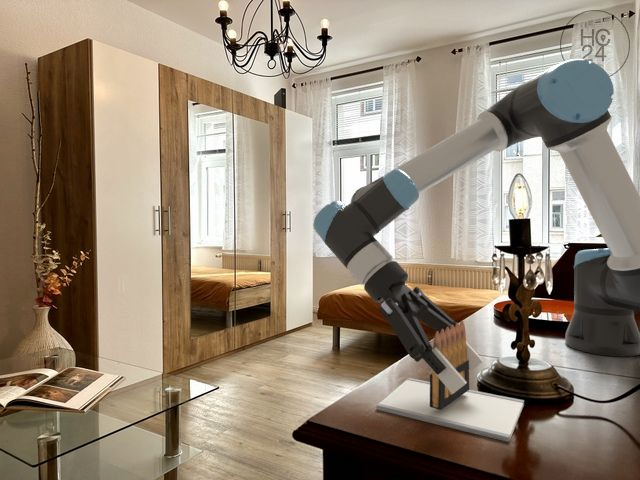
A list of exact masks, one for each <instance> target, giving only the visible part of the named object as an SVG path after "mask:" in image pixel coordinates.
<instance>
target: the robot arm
mask: <svg viewBox="0 0 640 480" xmlns="http://www.w3.org/2000/svg"><path fill="white" fill-rule="evenodd" d="M613 95H614V85H613V81H612V79H611V77H610V75H609V74H608V73H607V71H606V70H605V68H604V67H602V66H601V65H599V64H598V63H595V62H594V61H590V60H587V59H584V58H574V59H569V60H566V61H563V62H561V63H559V64H555V65H553V66H550V67H549V68H548V69H547V70H545V71H543V72H541V73H540V74H538V75H536V76H534V77H532V78H531V79H529V80H527V81H525V82H523V83H521V84H519V85H518V86H516V87H514V89H512V90H511V91H509V92H508V93H507V94H506V95H505V96H504V97H502V98H501V99H500V100H498V101H496V103H494V104H492V106H490V107H488V108H487V109H485V110H483V111H482V112H480V113H479V114H478V115H477V118H476V121H474V122H472V123H470V124H468V125H467V126H466V127H464V128H462V129H460V130H458V131H456V132H455V133H453V134H452V135H449V136H448V137H446V138H445V139H443V140H441V141H440V142H438V143H437V144H434V145H433V146H431V147H430V148H428V149H426V150H424V151H423V152H421V153H420V154H417V155H416V156H415V157H412V158H411V159H409V160H408V161H405V162H404V163H403V164H400V165H399V166H397V167H395V168H394V169H392V170H390V171H389V172H387V173H385V174H384V175H382V176H381V177H379V178H377V179H375V180H374V181H372V182H370V183H368V184H367V185H364V186H362V187H360V188H358V189H356V190H355V192H354V193H353V195H352V196H351V198H350V203H349V204H346V203H343V202H342V201H340V200H334V201H332V202H331V203H328V204H326V205H324V207H322V208H321V209H320V210H319V211H318V212H317V214H316V215H315V217H314V220H313V224H312V225H313V229H314V231H315V232H316V234H317V235H318V236H319V237H320V239H321V240H322V242H323V243H324V245H326V246H327V247H328V248H329V250H330V252H331V253H332V254H334V256H335V257H336V258H337V259H338V260H339V261H340V262H341V264H342V265H343V266H344V268H346V270H348V271H349V273H350V274H351V278H352V279H355V280H356V281H357V282H358V284H359V285H362V286H363V290H364V291H365V292H366V293H367V295H368V296H369V297H370V298H371V299H372V300H373V302H374V303H377V304H379V303H381V304H380V305H379V306H378V307H377V308H378V310H379V312H380V313H381V314H382V315H383V316H384V317H385V318H386V320H387V322H388V323H389V325H390V326H391V328H392V330H393V331H394V333H395V334H396V336H397V338H398V340H399V341H400V342H401V345H403V347H404V349H405V351H406V352H407V353H408V355H409V357H410V358H411V359H413V361H415V362H420V361H421V360H423V361H424V362H425V363H426V365H427V366H428V367H429V368H430V369H431V372H432V371H433V372H434V373H435V374H436V375H437V376H438V378H439V379H440V380H441V381H442V382H443V384H444V385H445V386H446V387H447V388H448V389H449V391H450V392H451V393H452V394H453V393H455V392H456V391H457V390H459V389H460V388H461V387H463V386H464V385H465V384H466V383H467V382H466V381H465V380H464V378H463V377H462V376H461V375H460V374H459V373H458V372H457V370H456V369H455V368H454V367H453V366H452V365H451V364H450V362H449V361H448V360H447V359H446V358H445V357H444V356H443V354H442V353H441V352H440V351H439V350H438V349H437V347H436V348H435V349H433V346H432V343H431V342H430V340H429V337H427V334H426V333H425V330H424V328H423V327H422V325H421V323H420V321H421V322H422V323H424V324H425V325H426V326H428V327H429V328H431V329H432V330H433V331H435V332H436V331H438V332H439V334H440V332H441V330H442V329H444V332H445V330H446V328H447V327H449V329H450V328H451V325H452V324H453V325H454V328H455V325H456V323H457V322H456V321H455V320H454V319H453V318H451V316H449V315H448V314H447V313H446V312H445V311H444V310H442V309H441V308H440V307H439V306H438V305H437V304H436V303H435V302H433V301H432V300H431V299H430V298H429V297H428V296H426V294H425V293H424V292H423V291H422V289H420V288H419V287H418V286H415V287H414V288H413V289H411V288H410V287H408V286H407V285H406V281H408V278H409V273H407V272H406V270H404V268H403V267H402V266H401V265H400V264H399V263H398V261H394V260H393V255H391V253H390V252H389V251H388V250H387V249H386V248H385V247H384V246H383V245H382V244H381V242H379V241H378V240H377V239H376V238H375V236H376V235H377V234H379V233H380V231H383V229H384V228H386V227H387V226H389V224H391V223H392V222H393V221H395V220H396V219H397V218H398V217H399V216H401V215H402V214H403V213H404V212H405V211H409V209H410V207H412V206H413V205H414V204H415V203H417V201H418V199H419V197H420V195H421V194H423V193H425V192H426V191H428V190H429V189H431V188H433V187H435V186H436V185H438V184H439V183H441V182H443V181H444V180H446V179H448V178H450V177H451V176H453V175H455V174H456V173H458V172H459V171H461V170H463V169H465V168H467V167H469V166H470V165H471V164H473V163H475V162H477V161H478V160H480V159H482V158H483V157H485V156H487V155H489V154H490V153H493V152H494V151H496V152H503V151H505V150H506V149H508V148H509V147H512V146H514V145H516V144H518V143H521V142H523V141H527V140H530V139H534V138H537V137H540V138H541V139H542V141H543V143H544V146H545V147H546V149H547V150H550V151H555V152H558V153H559V155H560V158H561V159H562V161H563V162H564V166H566V168H567V170H568V173H569V174H570V176H571V179H572V180H573V183H574V184H575V186H576V188H577V190H578V192H579V194H580V195H581V198H582V200H583V202H584V204H585V206H586V208H587V209H588V211H589V213H590V215H591V217H592V219H593V220H594V221H593V222H594V223H595V226H596V227H597V229H598V231H599V233H600V235H601V236H602V239H603V241H604V242H605V244H606V247H607V248H596V249H595V248H594V249H583V250H578V251H577V253H576V254H575V256H574V265H573V269H574V270H573V271H574V273H573V274H574V275H573V276H574V277H573V278H574V279H573V281H574V284H573V285H574V286H573V287H574V288H573V290H574V291H573V293H574V295H573V296H574V297H573V298H574V300H573V305H574V308H573V313H572V316H571V318H570V322H569V324H568V326H567V329H566V331H565V339H564V340H565V342H564V343H565V344H566V345H567V346H568V347H570V348H571V349H574V350H577V351H581V352H585V353H590V354H594V355H601V356H609V357H636V356H639V355H640V331H639V328H638V325H637V323H636V319H635V313H634V312H637V313H640V194H639V192H638V189H637V188H636V186H635V183H634V182H633V180H632V178H631V175H630V174H629V171H628V170H627V168H626V165H625V164H624V162H623V160H622V158H621V156H620V154H619V152H618V150H617V148H616V146H615V144H614V142H613V140H612V138H611V136H610V134H609V132H608V126H610V122H611V121H612V119H613V118H612V115H611V114H610V111H609V109H610V107H611V105H612V102H613V98H612V96H613ZM419 320H420V321H419ZM466 344H467V360H468V361H469V372H472V371H474V370H475V369H477V368H478V367H479V365H481V364H483V363H484V359H483V358H482V357H481V356H480V355H479V354H478V353H477V352H476V350H475V349H474V348H473V347H472V346H471V345H470V344H469V343H468V341H466Z"/></svg>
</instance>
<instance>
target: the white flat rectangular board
mask: <svg viewBox="0 0 640 480" xmlns="http://www.w3.org/2000/svg"><path fill="white" fill-rule="evenodd" d="M524 406H525V400H524V399H519V398H515V397H508V396H504V395H497V394H493V393H488V392H483V391H477V390H473V389H469V390H468V391H467V392H466V393H464V394H463V395H461V396H460V397H459V398H457V399H456V400H454V401H453V402H452V403H450V404H449V405H448V406H446V407H445V408H443V409H442V410H438V409H435V408H432V407H430V381H427V380H422V379H416V378H412V377H411V378H410V377H408V378H406V380H404V382H402V383H400V385H399V386H398V387H397V388H396V389H394V390H393V391H391V393H389V394H388V395H387V396H386V397H385V398H384V399H383V400H381V401H380V402H379V403H377V404H376V406H375V407H376V410H378V411H382V412H385V413H390V414H394V415H397V416H401V417H406V418H410V419H413V420H417V421H422V422H426V423H430V424H434V425H439V426H442V427H446V428H450V429H454V430H458V431H461V432H467V433H470V434H473V435H478V436H482V437H487V438H491V439H494V440H499V441H502V442H507V443H510V441H511V438H512V436H513V433H514V431H515V429H516V426H517V424H518V421H519V418H520V416H521V413H522V410H523V408H524Z"/></svg>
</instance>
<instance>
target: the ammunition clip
mask: <svg viewBox="0 0 640 480" xmlns="http://www.w3.org/2000/svg"><path fill="white" fill-rule="evenodd" d="M466 336H467V335H466V327H465V323H464V321H463V320H461V321H460V322H456V325H455V328H454V325H453V324H452V325H451V328H450V329H449V327H447V328H446V330H445V332H444V329H442V330H441V332H440V334H439V332H438V331H435V334H434V337H433V346H432V348H433V349H435V348H436V347H437V349H438V350H439V351H440V352H441V353H442V354H443V356H444V357H445V358H446V359H447V360H448V361H449V362H450V364H451V365H452V366H453V367H454V368H455V369H456V370H457V372H458V373H459V374H460V375H461V376H462V377H463V378H464V380H465V381H466V382H467V383H466V384H465V385H464V386H463V387H461V388H460V389H459V390H457V391H456V392H455V393H453V394H452V393H451V392H450V391H449V389H448V388H447V387H446V386H445V385H444V384H443V382H442V381H441V380H440V379H439V378H438V376H437V375H436V374H435V373H434V372H433V371H432V370H431V374H429V382H430V407H432V408H435V409H438V410H442V409H443V408H445V407H446V406H448V405H449V404H450V403H452V402H453V401H454V400H456V399H457V398H459V397H460V396H461V395H463V394H464V393H466V392H467V391H468V390H470V370H469V361H468V360H467V344H466V342H467V337H466ZM433 349H432V350H433Z"/></svg>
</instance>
